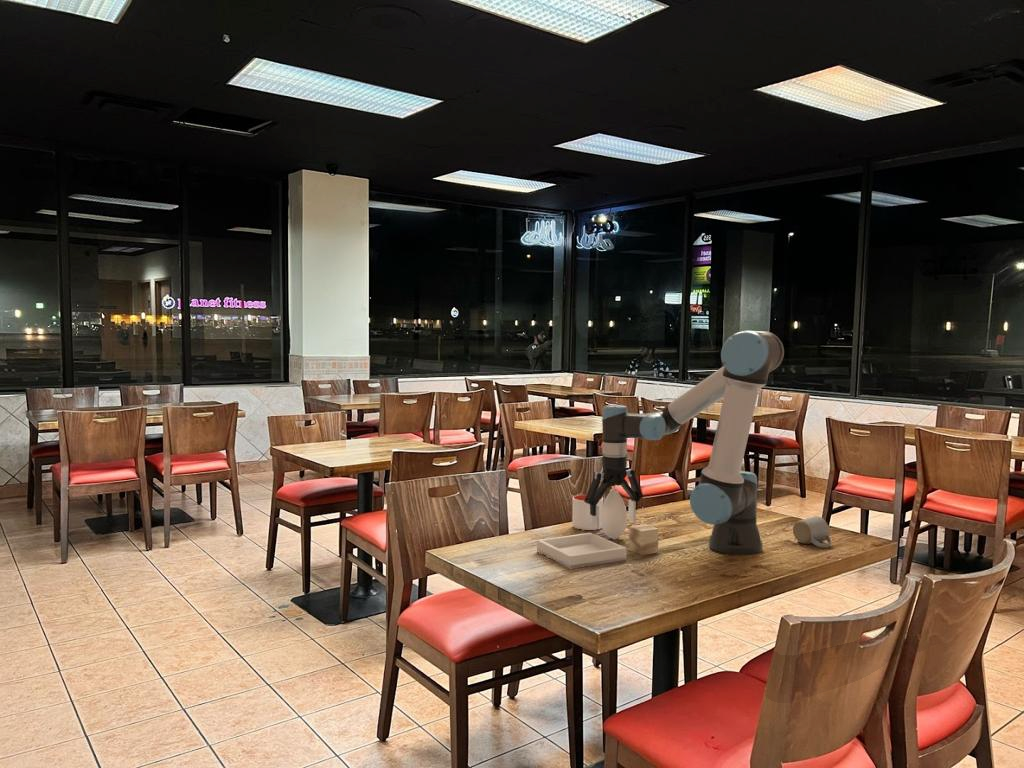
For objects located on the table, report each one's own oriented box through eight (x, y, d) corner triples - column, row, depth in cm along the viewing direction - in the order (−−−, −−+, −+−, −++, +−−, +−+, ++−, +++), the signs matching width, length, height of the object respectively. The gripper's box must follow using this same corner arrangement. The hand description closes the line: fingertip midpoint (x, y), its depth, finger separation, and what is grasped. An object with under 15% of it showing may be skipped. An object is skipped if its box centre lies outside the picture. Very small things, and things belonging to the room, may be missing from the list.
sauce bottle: (597, 536, 231) (597, 479, 230) (619, 534, 233) (620, 478, 232) (607, 542, 223) (608, 484, 222) (631, 540, 225) (631, 482, 224)
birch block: (658, 552, 213) (658, 528, 213) (641, 555, 211) (641, 531, 210) (645, 547, 219) (645, 524, 218) (628, 549, 216) (629, 526, 216)
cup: (566, 526, 244) (566, 496, 243) (592, 522, 248) (592, 493, 247) (582, 533, 235) (582, 502, 234) (608, 529, 239) (609, 499, 238)
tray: (626, 560, 206) (626, 547, 205) (569, 569, 197) (569, 556, 197) (590, 544, 222) (590, 532, 222) (536, 551, 214) (536, 540, 214)
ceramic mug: (790, 540, 225) (791, 516, 225) (810, 537, 229) (810, 513, 228) (818, 550, 216) (819, 524, 215) (838, 547, 219) (839, 521, 219)
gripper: (640, 451, 235) (639, 516, 237) (573, 456, 224) (573, 525, 225) (654, 454, 229) (653, 521, 230) (586, 460, 218) (586, 530, 219)
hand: (613, 523), depth 228 cm, fingers open, 13 cm apart
